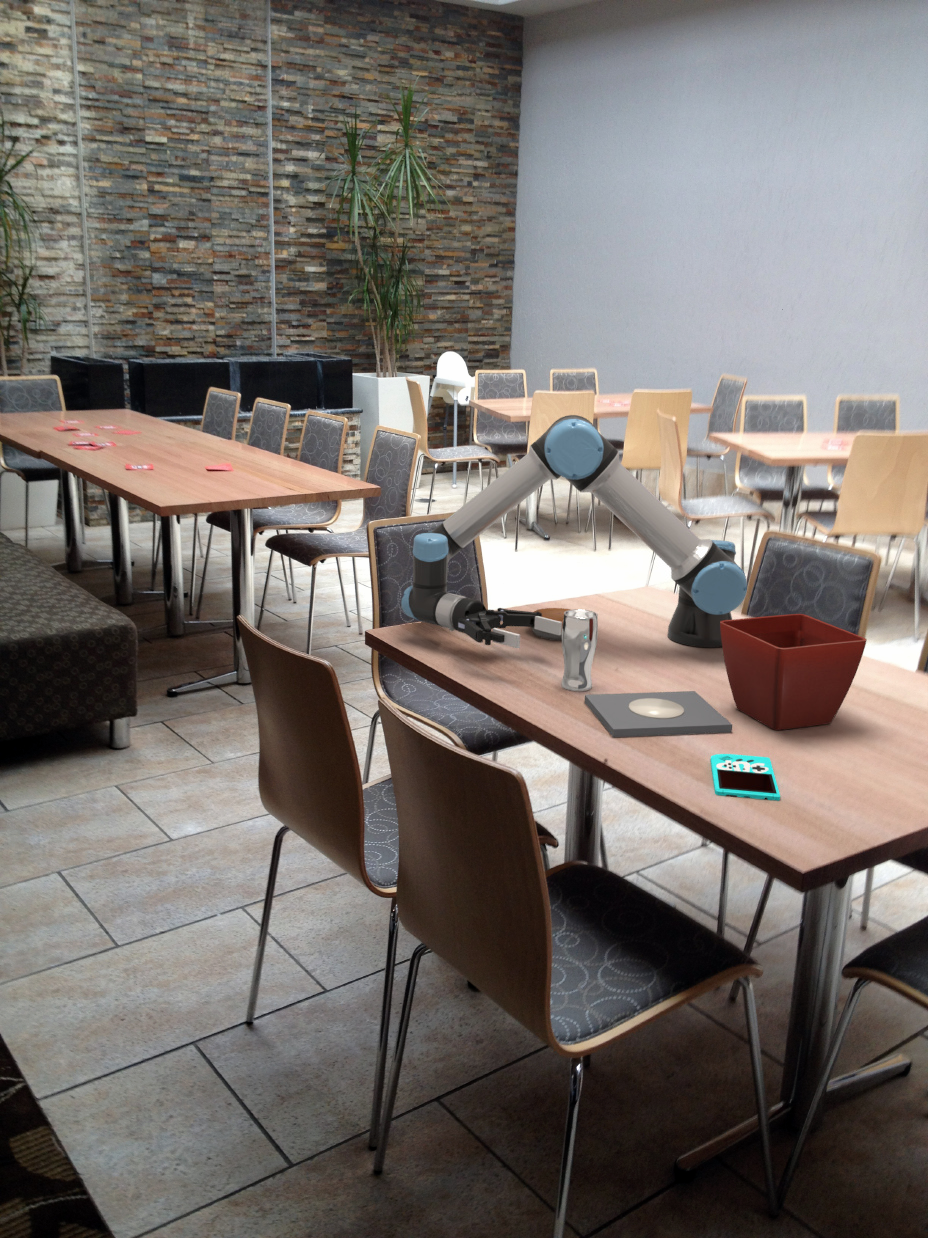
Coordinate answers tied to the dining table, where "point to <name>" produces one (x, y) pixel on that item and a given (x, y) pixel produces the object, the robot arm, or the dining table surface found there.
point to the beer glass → (578, 648)
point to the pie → (554, 615)
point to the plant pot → (789, 668)
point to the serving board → (656, 714)
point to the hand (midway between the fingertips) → (540, 635)
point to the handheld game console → (744, 776)
